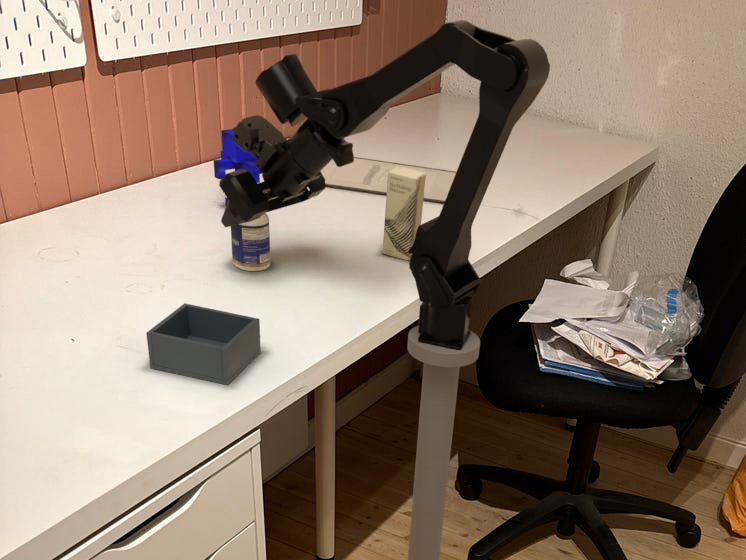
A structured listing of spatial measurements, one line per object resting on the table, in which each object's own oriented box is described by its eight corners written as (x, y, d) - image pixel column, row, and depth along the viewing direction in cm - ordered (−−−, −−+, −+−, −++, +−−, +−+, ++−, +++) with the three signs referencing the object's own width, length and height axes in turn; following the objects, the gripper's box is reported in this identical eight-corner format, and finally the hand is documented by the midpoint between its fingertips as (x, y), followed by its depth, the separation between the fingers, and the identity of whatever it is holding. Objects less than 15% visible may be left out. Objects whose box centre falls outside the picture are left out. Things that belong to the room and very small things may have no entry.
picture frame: (463, 173, 197) (319, 152, 197) (464, 172, 197) (319, 151, 196) (454, 204, 181) (297, 182, 180) (454, 203, 180) (297, 180, 180)
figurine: (267, 204, 169) (265, 129, 161) (260, 217, 164) (257, 141, 156) (224, 198, 169) (220, 123, 161) (215, 212, 163) (210, 135, 155)
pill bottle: (230, 258, 148) (226, 190, 142) (267, 258, 150) (265, 191, 143) (235, 272, 144) (231, 203, 138) (273, 272, 146) (271, 203, 139)
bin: (260, 352, 125) (259, 318, 122) (227, 385, 117) (225, 349, 114) (187, 337, 125) (184, 302, 123) (150, 368, 118) (145, 332, 115)
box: (381, 254, 157) (385, 170, 148) (391, 247, 160) (395, 164, 152) (411, 261, 156) (417, 178, 147) (421, 254, 159) (426, 171, 151)
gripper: (308, 90, 137) (248, 155, 147) (227, 109, 124) (166, 179, 134) (353, 162, 140) (291, 221, 150) (278, 189, 127) (216, 251, 137)
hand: (243, 216), depth 143 cm, fingers open, 9 cm apart
